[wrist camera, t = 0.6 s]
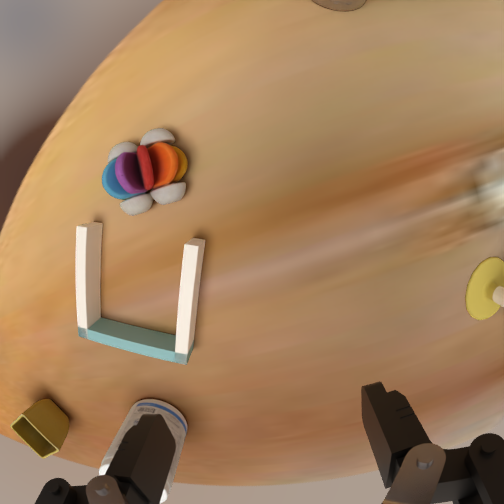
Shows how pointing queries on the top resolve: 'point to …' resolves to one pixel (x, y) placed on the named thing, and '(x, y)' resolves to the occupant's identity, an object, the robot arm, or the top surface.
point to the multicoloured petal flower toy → (145, 172)
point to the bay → (125, 334)
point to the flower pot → (42, 427)
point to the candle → (486, 289)
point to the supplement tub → (172, 420)
